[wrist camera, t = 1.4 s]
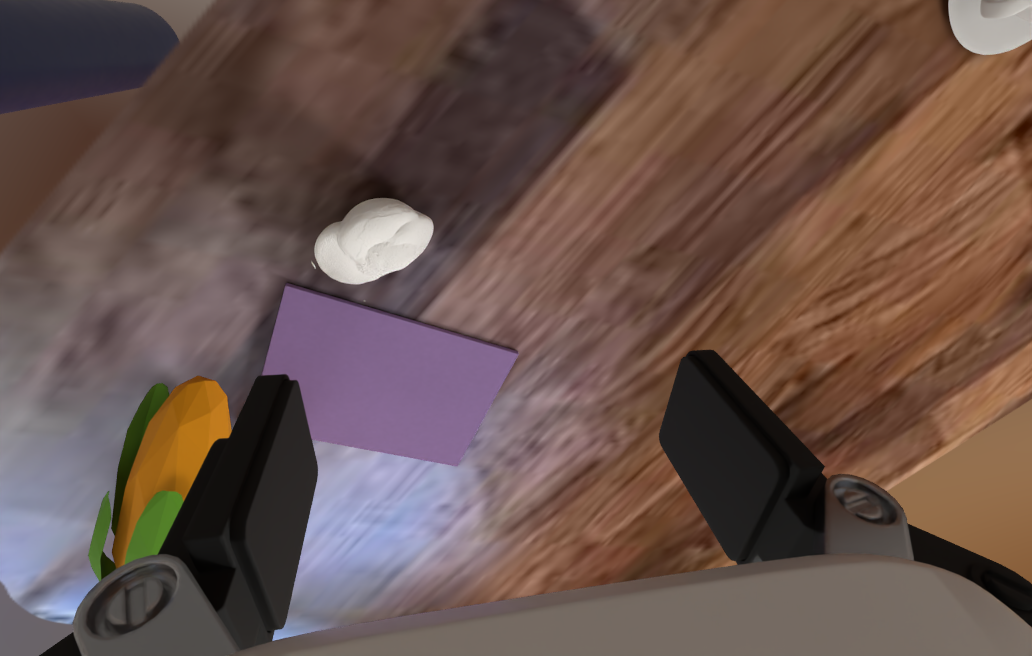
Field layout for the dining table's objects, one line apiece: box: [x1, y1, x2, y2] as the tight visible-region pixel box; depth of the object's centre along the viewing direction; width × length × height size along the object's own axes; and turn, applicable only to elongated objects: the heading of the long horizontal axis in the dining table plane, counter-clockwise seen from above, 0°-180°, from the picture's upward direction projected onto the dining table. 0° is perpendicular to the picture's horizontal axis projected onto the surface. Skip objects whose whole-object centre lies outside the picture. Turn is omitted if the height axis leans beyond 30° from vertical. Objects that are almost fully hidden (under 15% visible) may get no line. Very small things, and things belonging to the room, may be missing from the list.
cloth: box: [262, 283, 518, 466], centre depth 34 cm, size 16×12×1 cm
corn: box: [88, 376, 232, 581], centre depth 31 cm, size 7×8×20 cm
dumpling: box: [311, 198, 434, 301], centre depth 27 cm, size 7×5×4 cm
